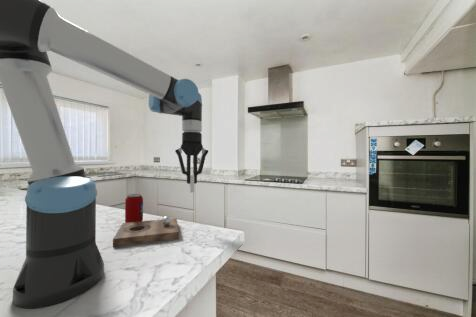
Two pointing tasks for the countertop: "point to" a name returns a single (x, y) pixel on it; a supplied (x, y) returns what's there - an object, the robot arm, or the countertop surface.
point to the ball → (166, 220)
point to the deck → (145, 232)
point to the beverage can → (134, 208)
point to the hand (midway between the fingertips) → (191, 191)
